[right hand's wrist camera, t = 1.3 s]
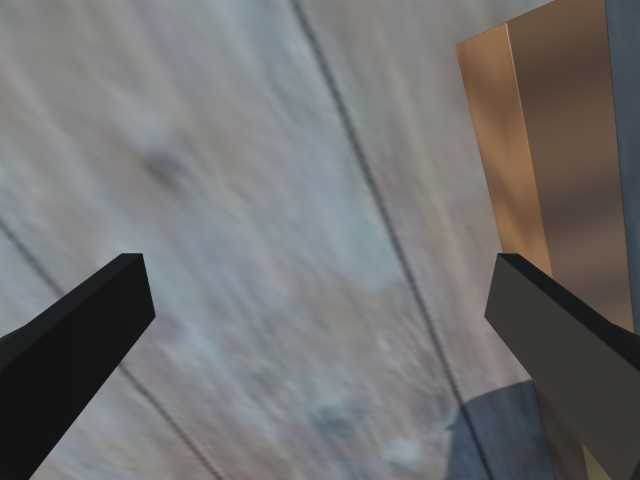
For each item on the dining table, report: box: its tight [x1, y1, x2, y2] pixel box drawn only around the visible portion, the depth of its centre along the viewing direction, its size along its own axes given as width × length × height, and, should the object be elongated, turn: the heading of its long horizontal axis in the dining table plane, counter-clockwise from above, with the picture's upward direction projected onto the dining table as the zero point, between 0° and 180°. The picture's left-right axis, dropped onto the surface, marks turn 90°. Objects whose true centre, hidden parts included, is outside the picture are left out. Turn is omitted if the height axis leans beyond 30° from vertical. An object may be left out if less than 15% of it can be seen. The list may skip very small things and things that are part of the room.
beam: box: [456, 0, 634, 480], centre depth 32 cm, size 60×5×8 cm, turn 22°
